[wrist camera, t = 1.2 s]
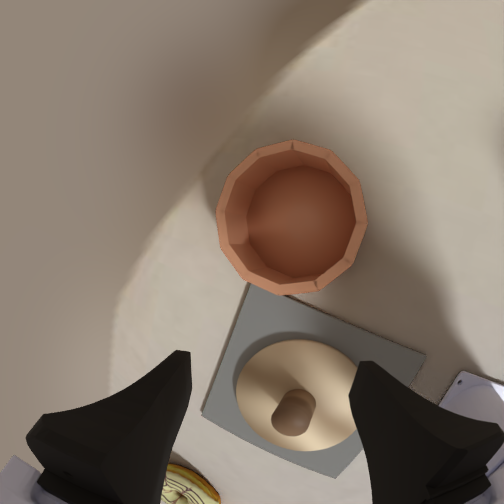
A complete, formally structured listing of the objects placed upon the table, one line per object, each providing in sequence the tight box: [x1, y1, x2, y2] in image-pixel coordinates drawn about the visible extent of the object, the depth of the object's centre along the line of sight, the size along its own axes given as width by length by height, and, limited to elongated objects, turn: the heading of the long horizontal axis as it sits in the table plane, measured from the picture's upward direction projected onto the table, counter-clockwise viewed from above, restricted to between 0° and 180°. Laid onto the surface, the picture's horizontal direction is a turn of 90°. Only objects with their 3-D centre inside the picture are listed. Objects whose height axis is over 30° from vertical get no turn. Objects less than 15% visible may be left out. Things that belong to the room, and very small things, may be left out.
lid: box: [236, 339, 358, 451], centre depth 20 cm, size 12×12×4 cm
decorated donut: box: [161, 463, 221, 504], centre depth 26 cm, size 10×11×4 cm
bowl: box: [215, 140, 368, 296], centre depth 20 cm, size 10×10×4 cm
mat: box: [201, 283, 426, 479], centre depth 22 cm, size 16×16×1 cm
